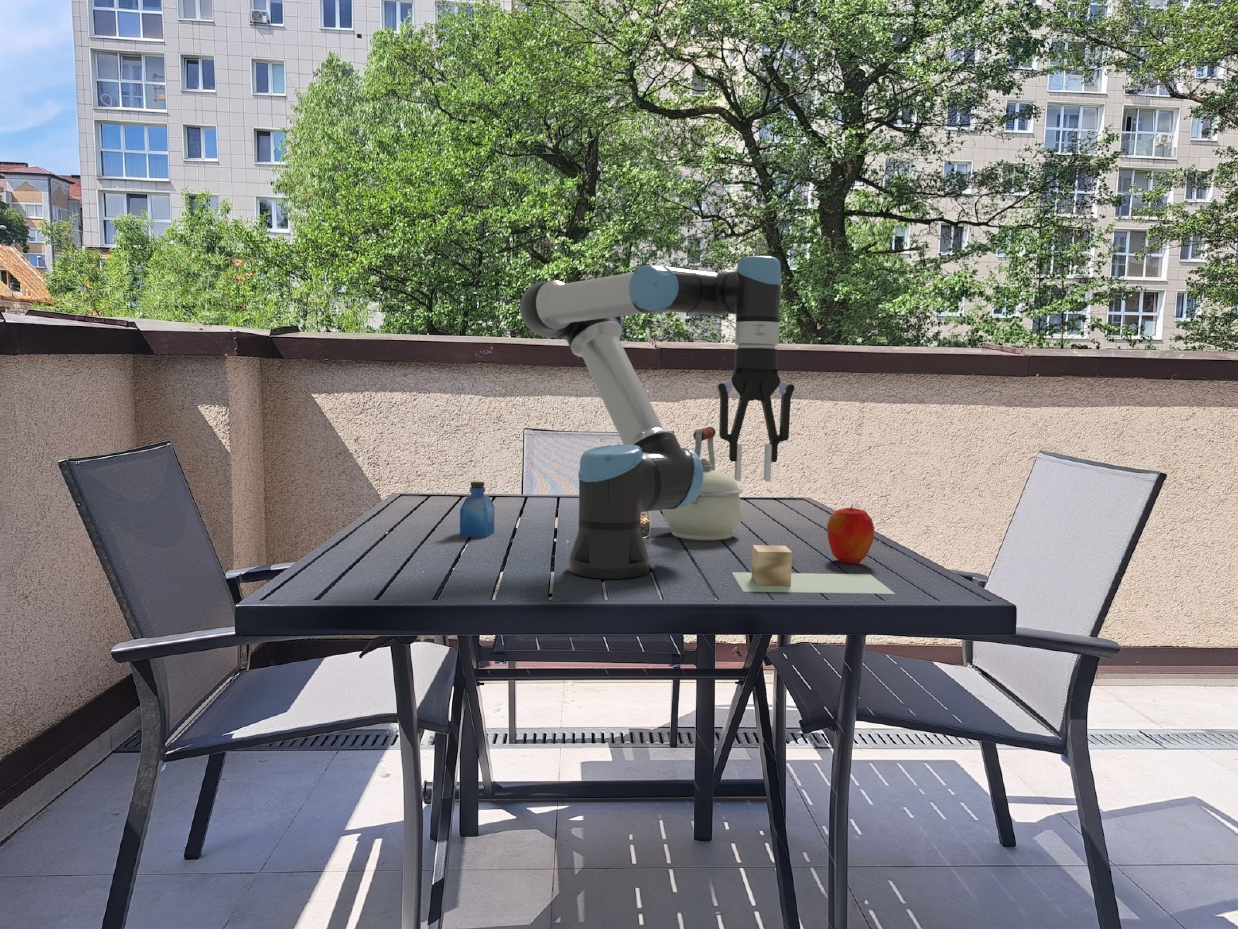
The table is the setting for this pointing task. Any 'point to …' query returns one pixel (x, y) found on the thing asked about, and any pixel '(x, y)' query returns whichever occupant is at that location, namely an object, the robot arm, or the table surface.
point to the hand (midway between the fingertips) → (752, 480)
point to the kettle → (708, 501)
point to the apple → (850, 534)
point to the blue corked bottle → (477, 513)
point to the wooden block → (771, 565)
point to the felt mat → (818, 583)
